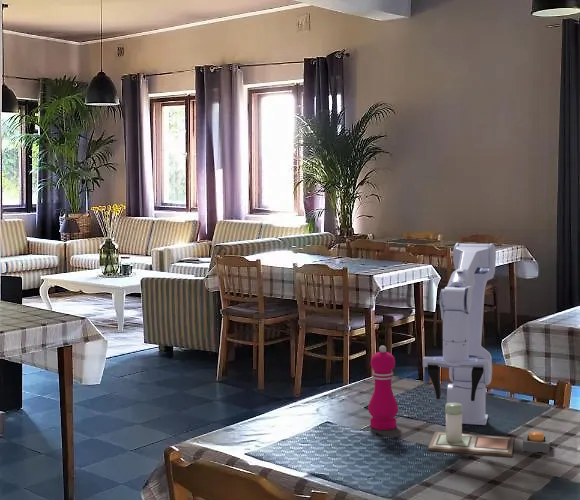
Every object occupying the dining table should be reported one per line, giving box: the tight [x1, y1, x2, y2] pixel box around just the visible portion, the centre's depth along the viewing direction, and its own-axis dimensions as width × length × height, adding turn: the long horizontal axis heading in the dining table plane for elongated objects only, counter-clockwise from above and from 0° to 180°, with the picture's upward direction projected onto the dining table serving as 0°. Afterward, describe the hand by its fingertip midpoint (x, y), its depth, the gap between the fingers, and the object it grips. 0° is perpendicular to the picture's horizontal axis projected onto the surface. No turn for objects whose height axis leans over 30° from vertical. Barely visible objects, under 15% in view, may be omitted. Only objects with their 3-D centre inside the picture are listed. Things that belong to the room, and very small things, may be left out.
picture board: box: [427, 430, 515, 458], centre depth 194 cm, size 18×12×1 cm, turn 73°
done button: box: [528, 430, 545, 442], centre depth 190 cm, size 3×3×2 cm
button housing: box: [522, 433, 551, 454], centre depth 191 cm, size 6×6×2 cm
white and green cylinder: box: [444, 402, 463, 443], centre depth 195 cm, size 4×4×8 cm
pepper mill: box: [368, 345, 399, 431], centre depth 208 cm, size 7×7×20 cm
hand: (455, 398), depth 194 cm, fingers open, 7 cm apart
